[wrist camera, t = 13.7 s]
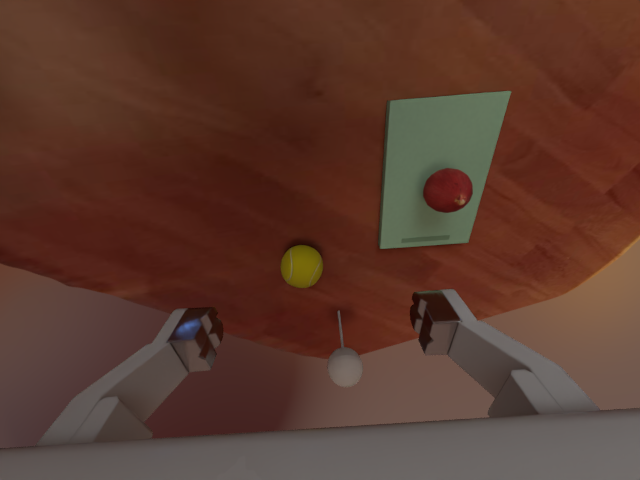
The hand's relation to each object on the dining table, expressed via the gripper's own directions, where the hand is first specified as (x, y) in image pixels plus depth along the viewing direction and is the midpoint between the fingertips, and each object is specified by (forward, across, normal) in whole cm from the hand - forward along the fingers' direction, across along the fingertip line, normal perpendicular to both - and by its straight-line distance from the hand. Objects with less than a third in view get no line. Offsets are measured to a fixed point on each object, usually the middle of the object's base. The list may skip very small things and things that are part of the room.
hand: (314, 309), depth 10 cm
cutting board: (+28, -18, +4) cm, 34 cm away
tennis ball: (+28, +3, +16) cm, 33 cm away
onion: (+27, -18, +4) cm, 33 cm away
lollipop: (+28, -2, +32) cm, 42 cm away
